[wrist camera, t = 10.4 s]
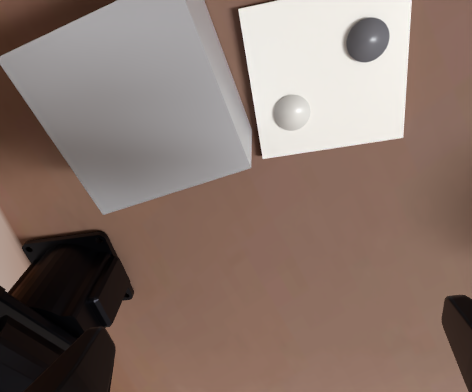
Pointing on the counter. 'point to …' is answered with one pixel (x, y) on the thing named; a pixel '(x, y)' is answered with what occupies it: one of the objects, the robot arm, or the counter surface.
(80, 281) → the robot arm
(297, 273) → the counter surface
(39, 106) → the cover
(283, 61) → the pattern tile
